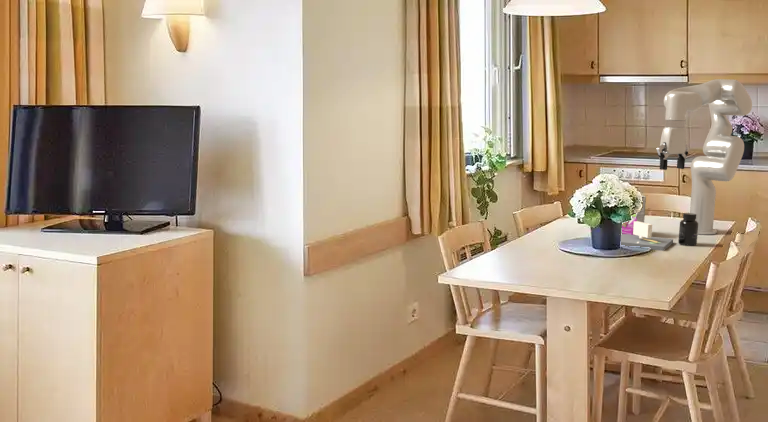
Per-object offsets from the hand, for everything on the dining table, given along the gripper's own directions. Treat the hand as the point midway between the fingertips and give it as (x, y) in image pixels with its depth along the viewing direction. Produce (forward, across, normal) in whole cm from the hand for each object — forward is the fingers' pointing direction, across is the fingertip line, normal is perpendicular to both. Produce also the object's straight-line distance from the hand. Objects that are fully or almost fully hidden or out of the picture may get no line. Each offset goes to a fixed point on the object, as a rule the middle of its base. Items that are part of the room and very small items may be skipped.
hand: (671, 169), depth 346 cm
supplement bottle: (+28, -2, +8) cm, 30 cm away
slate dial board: (+28, +14, 0) cm, 32 cm away
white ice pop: (+26, +14, +2) cm, 30 cm away
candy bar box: (+28, +4, -16) cm, 33 cm away
